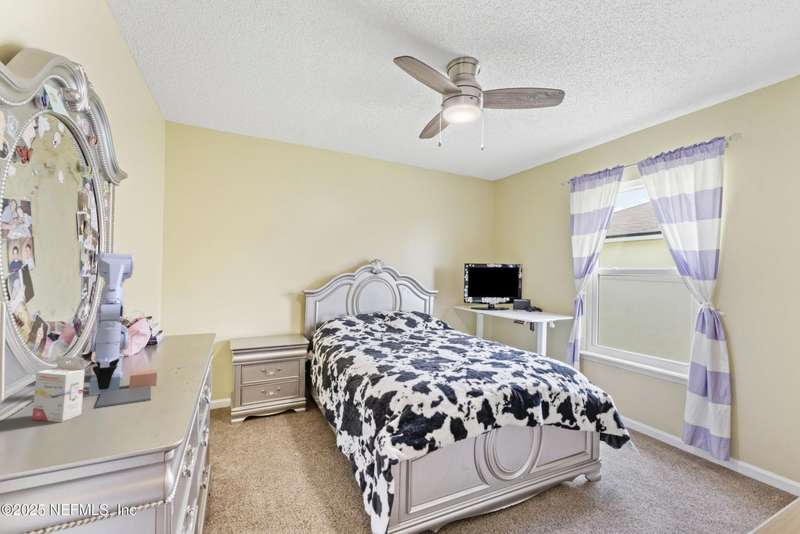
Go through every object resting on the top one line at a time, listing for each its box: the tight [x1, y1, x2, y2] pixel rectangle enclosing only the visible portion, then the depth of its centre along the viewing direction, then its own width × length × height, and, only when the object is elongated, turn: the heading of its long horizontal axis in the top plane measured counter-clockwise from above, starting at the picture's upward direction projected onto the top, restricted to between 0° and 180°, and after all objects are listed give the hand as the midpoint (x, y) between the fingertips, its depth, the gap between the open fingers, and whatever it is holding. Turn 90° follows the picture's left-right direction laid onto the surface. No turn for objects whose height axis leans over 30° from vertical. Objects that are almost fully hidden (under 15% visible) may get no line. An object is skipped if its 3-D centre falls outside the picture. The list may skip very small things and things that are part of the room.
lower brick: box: [88, 373, 121, 395], centre depth 105 cm, size 4×7×4 cm, turn 129°
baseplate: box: [95, 385, 152, 409], centre depth 101 cm, size 14×12×1 cm
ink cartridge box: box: [31, 355, 86, 423], centre depth 85 cm, size 9×5×15 cm, turn 84°
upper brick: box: [128, 369, 158, 388], centre depth 111 cm, size 4×7×4 cm, turn 128°
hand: (105, 385), depth 105 cm, fingers open, 7 cm apart
